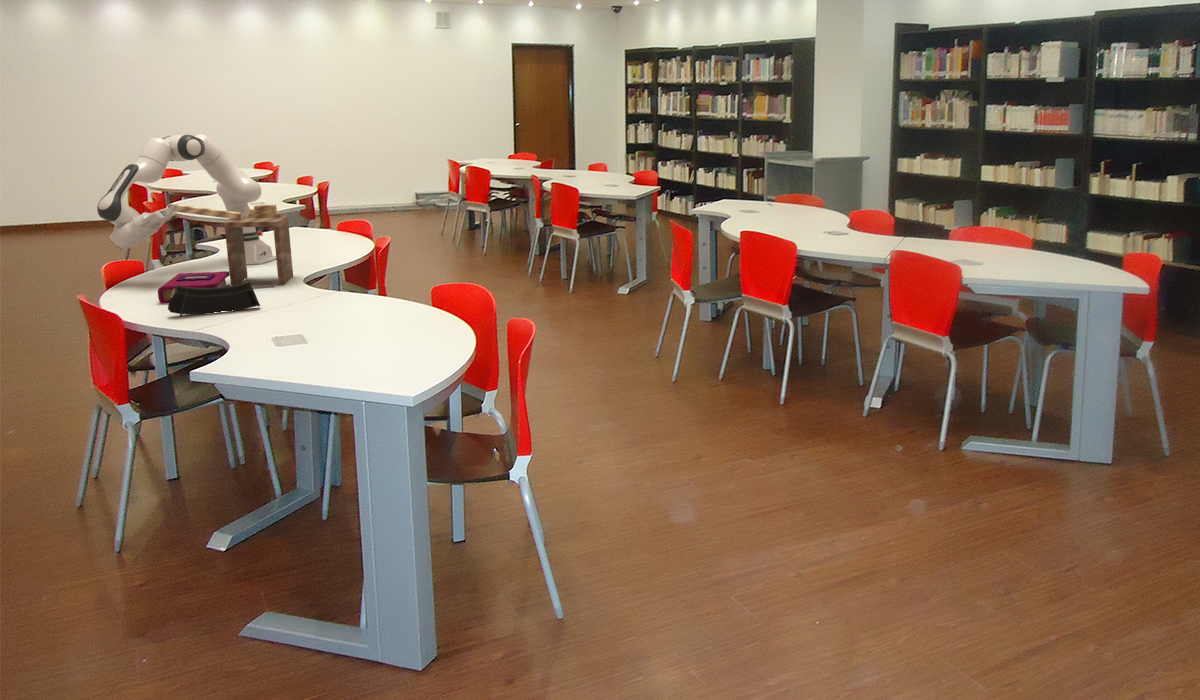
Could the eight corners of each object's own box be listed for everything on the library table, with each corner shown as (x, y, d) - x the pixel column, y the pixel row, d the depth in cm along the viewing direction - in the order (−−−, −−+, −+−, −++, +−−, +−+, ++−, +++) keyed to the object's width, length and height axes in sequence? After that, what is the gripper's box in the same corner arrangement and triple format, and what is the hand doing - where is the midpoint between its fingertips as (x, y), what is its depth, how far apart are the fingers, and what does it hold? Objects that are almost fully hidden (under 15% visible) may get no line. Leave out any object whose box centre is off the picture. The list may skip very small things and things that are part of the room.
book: (159, 305, 361) (156, 285, 359) (177, 290, 388) (174, 271, 386) (218, 302, 365) (215, 282, 363) (231, 288, 391) (229, 269, 389)
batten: (167, 210, 390) (167, 204, 389) (169, 209, 393) (170, 203, 392) (238, 219, 394) (239, 213, 393) (240, 218, 397) (241, 212, 396)
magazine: (263, 282, 353) (176, 266, 338) (265, 284, 351) (176, 267, 336) (254, 327, 355) (166, 313, 341) (255, 329, 353) (167, 314, 338)
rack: (230, 286, 393) (222, 210, 385) (242, 277, 411) (235, 205, 403) (283, 285, 395) (276, 209, 387) (293, 276, 413) (286, 204, 405)
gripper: (133, 220, 381) (163, 202, 380) (151, 214, 401) (179, 196, 400) (143, 233, 383) (173, 216, 382) (161, 227, 402) (189, 209, 402)
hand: (176, 206), depth 391 cm, fingers closed on batten, 3 cm apart
